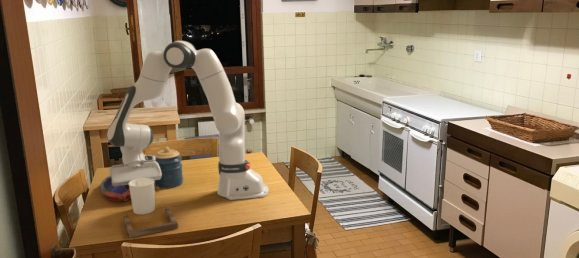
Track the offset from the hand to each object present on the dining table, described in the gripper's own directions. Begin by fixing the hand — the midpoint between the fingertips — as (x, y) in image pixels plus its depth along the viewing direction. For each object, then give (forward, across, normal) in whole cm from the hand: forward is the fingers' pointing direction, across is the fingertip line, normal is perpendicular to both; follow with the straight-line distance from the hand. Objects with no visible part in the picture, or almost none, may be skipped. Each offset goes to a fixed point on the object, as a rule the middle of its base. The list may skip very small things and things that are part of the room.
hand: (139, 191), depth 194 cm
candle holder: (+10, 0, -3) cm, 11 cm away
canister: (-8, +15, +16) cm, 24 cm away
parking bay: (+20, 0, -13) cm, 24 cm away
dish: (-8, -7, +15) cm, 18 cm away
